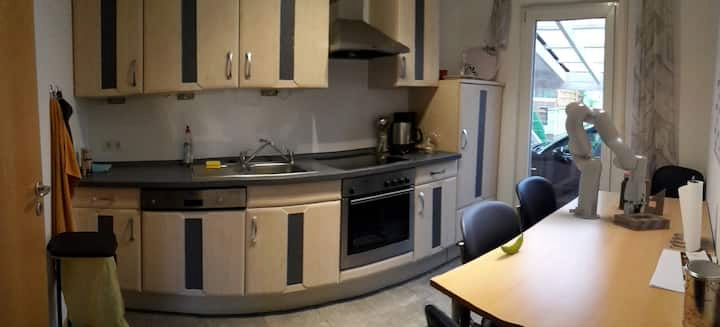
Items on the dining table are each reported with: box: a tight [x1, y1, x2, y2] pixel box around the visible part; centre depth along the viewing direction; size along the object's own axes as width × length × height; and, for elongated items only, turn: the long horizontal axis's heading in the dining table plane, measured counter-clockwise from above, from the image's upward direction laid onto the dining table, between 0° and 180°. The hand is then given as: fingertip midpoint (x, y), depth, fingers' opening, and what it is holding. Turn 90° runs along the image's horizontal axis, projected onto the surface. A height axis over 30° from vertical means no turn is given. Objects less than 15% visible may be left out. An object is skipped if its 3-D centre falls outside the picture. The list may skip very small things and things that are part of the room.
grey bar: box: [622, 202, 645, 214], centre depth 275 cm, size 9×4×8 cm, turn 105°
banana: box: [500, 233, 525, 255], centre depth 210 cm, size 3×19×6 cm, turn 139°
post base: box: [613, 213, 671, 232], centre depth 260 cm, size 20×14×4 cm
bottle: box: [618, 172, 629, 211], centre depth 297 cm, size 7×7×20 cm
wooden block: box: [644, 179, 667, 217], centre depth 287 cm, size 4×11×18 cm, turn 54°
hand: (633, 214), depth 275 cm, fingers closed on grey bar, 4 cm apart
